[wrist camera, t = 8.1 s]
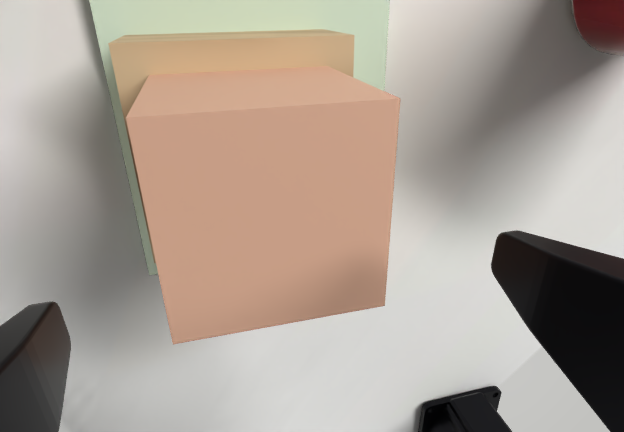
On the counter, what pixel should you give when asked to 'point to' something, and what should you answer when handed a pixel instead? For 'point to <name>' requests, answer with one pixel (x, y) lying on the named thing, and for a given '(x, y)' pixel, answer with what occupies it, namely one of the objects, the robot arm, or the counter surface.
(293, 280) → the terracotta block
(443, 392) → the counter surface
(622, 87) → the counter surface
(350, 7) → the build plate
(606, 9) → the soda can
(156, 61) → the oak block
